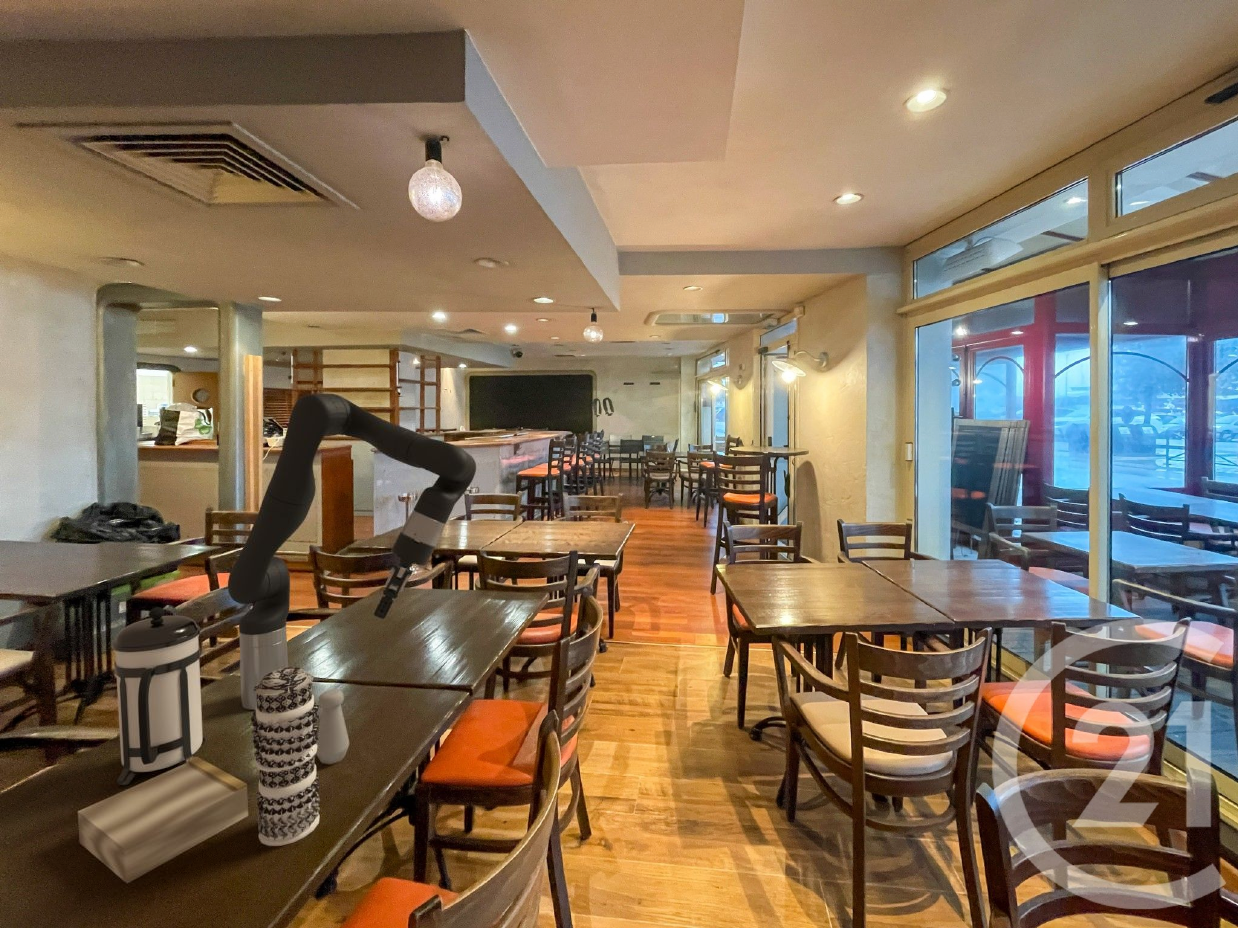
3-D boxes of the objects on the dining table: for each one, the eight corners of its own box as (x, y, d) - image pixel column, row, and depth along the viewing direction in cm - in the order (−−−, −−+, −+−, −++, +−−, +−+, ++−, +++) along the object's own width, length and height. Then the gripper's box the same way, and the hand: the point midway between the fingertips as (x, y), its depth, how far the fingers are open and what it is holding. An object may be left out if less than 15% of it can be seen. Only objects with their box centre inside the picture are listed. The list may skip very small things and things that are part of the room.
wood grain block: (79, 842, 87) (77, 808, 87) (197, 785, 101) (196, 756, 101) (127, 883, 80) (125, 846, 79) (248, 815, 93) (246, 783, 93)
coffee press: (85, 779, 103) (75, 616, 101) (181, 735, 118) (174, 592, 116) (145, 803, 96) (136, 629, 95) (238, 753, 111) (232, 602, 109)
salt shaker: (335, 768, 106) (333, 701, 105) (308, 765, 107) (306, 698, 107) (355, 751, 112) (354, 686, 111) (330, 748, 113) (328, 684, 112)
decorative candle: (294, 851, 86) (288, 689, 84) (240, 843, 87) (234, 684, 86) (335, 811, 95) (330, 663, 93) (285, 804, 96) (280, 659, 95)
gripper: (403, 528, 122) (366, 599, 119) (399, 531, 109) (357, 612, 106) (436, 542, 124) (401, 613, 121) (436, 547, 111) (396, 627, 108)
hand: (380, 612), depth 113 cm, fingers open, 8 cm apart
